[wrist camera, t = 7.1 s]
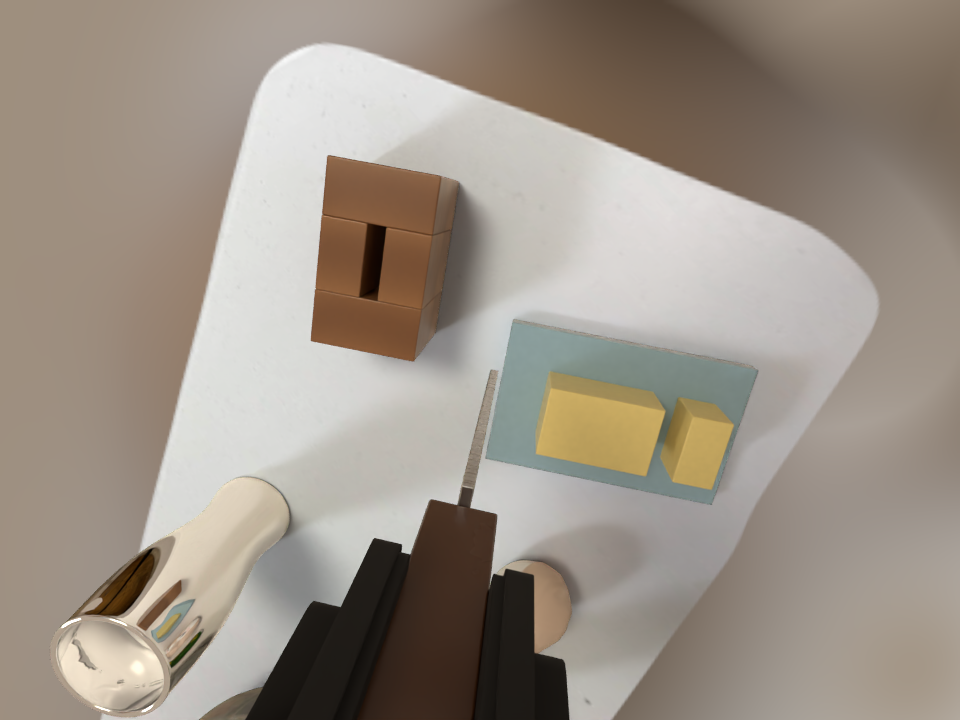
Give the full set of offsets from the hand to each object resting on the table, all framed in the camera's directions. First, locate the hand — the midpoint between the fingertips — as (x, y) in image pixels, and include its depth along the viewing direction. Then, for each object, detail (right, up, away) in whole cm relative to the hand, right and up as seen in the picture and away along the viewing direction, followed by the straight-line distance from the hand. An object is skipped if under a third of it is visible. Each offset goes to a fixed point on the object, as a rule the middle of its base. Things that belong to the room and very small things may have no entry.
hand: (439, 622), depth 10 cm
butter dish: (+10, +1, +27) cm, 29 cm away
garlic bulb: (+4, -12, +32) cm, 34 cm away
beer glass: (-17, -7, +32) cm, 37 cm away
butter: (+8, +1, +26) cm, 28 cm away
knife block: (-4, +12, +25) cm, 28 cm away
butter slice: (+15, 0, +26) cm, 30 cm away
